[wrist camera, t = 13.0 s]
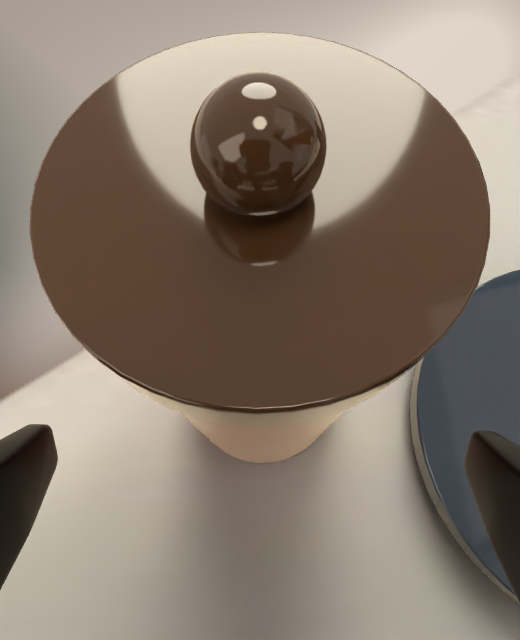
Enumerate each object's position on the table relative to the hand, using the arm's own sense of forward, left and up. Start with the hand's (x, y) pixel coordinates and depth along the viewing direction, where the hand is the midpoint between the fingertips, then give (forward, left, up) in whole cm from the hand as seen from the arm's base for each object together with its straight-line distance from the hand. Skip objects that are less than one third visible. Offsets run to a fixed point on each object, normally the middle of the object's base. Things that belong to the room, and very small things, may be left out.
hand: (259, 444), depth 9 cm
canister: (+2, +2, -7) cm, 8 cm away
